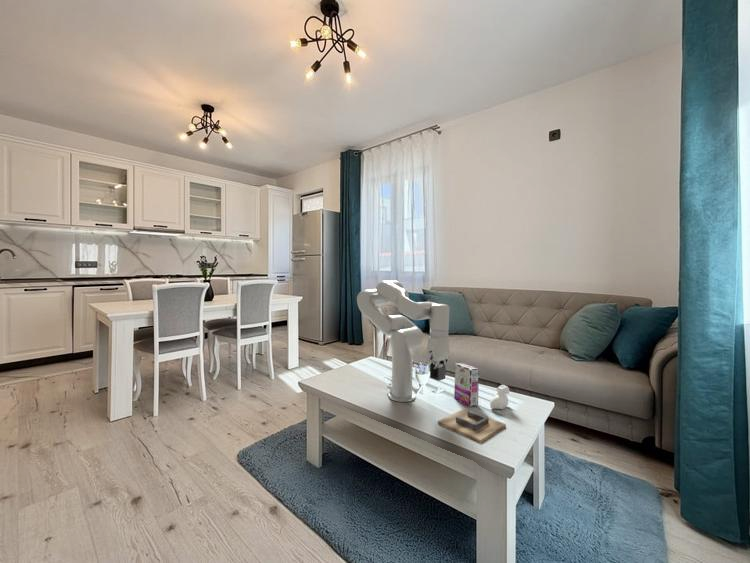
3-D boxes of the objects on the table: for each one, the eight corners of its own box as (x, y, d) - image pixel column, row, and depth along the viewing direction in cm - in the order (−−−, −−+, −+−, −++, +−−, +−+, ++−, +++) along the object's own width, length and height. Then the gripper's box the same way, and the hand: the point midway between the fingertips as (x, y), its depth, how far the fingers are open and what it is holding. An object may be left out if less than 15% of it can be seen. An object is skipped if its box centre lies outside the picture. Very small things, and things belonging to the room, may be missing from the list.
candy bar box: (478, 405, 138) (479, 368, 137) (469, 407, 136) (470, 369, 135) (462, 396, 148) (463, 362, 148) (453, 398, 146) (454, 363, 146)
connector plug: (429, 377, 132) (430, 363, 131) (436, 375, 135) (437, 361, 134) (438, 380, 128) (439, 366, 128) (445, 378, 131) (445, 364, 131)
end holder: (437, 423, 120) (438, 415, 120) (464, 410, 132) (464, 403, 132) (480, 442, 107) (480, 434, 107) (505, 426, 118) (505, 419, 118)
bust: (494, 417, 132) (511, 401, 127) (480, 402, 136) (497, 385, 131) (505, 408, 140) (521, 393, 135) (492, 394, 144) (508, 379, 139)
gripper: (444, 329, 139) (442, 370, 140) (419, 334, 128) (417, 378, 129) (458, 332, 134) (456, 375, 134) (433, 337, 122) (431, 383, 123)
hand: (437, 376), depth 131 cm, fingers closed on connector plug, 4 cm apart
